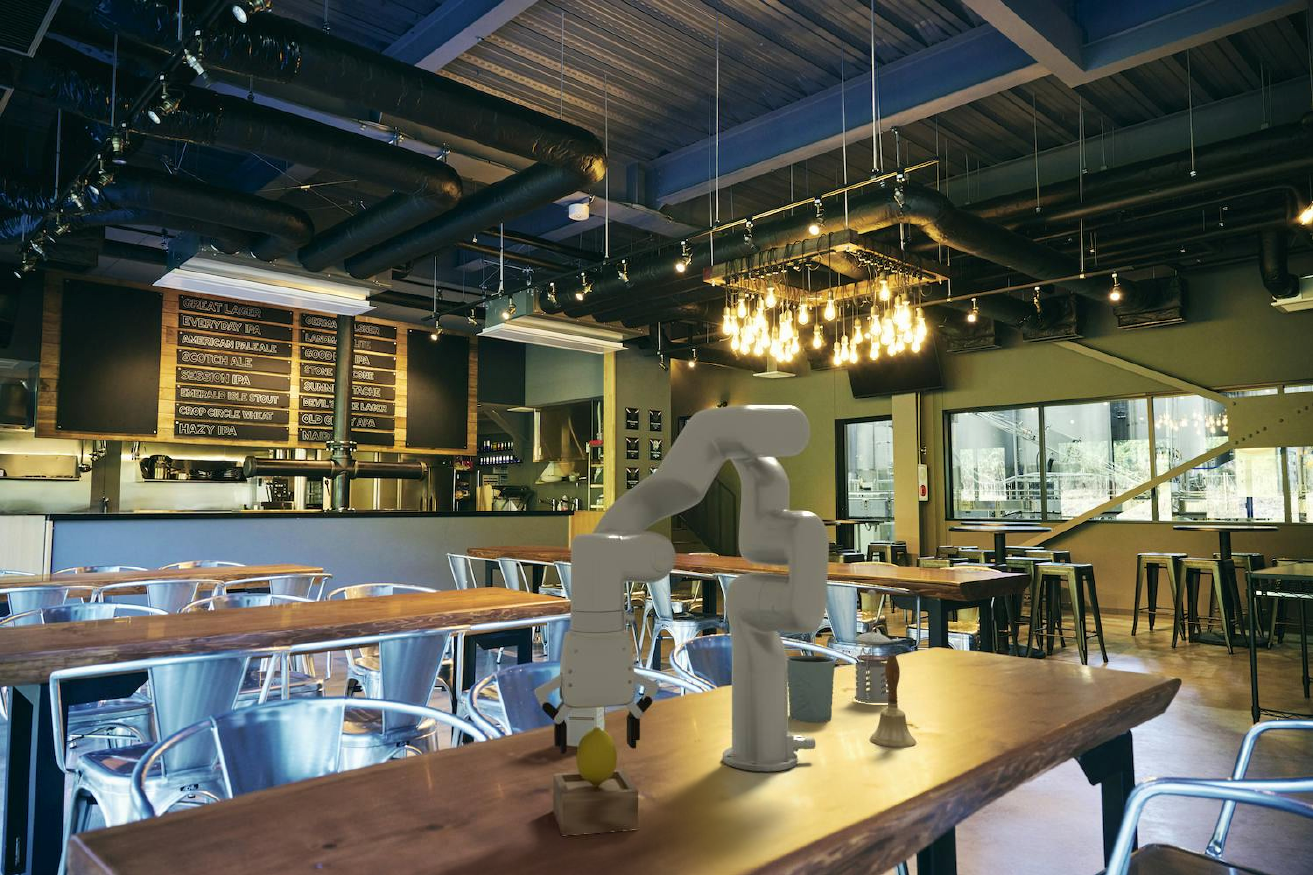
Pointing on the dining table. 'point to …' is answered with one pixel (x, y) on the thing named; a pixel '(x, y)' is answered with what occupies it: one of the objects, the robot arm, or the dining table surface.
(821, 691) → the grey teal cup
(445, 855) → the dining table surface
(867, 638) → the french press
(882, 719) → the hand bell
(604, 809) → the brown wooden tray
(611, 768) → the lemon
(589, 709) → the syrup box
